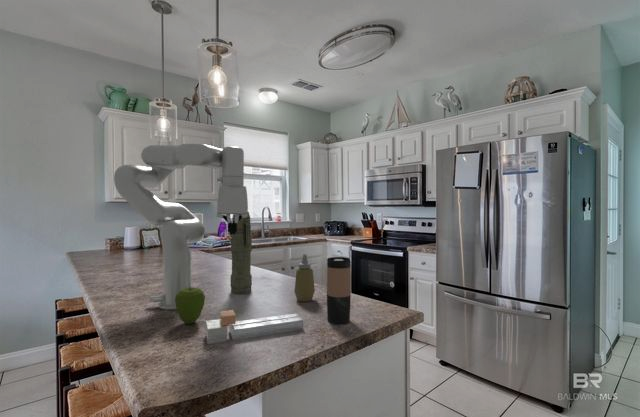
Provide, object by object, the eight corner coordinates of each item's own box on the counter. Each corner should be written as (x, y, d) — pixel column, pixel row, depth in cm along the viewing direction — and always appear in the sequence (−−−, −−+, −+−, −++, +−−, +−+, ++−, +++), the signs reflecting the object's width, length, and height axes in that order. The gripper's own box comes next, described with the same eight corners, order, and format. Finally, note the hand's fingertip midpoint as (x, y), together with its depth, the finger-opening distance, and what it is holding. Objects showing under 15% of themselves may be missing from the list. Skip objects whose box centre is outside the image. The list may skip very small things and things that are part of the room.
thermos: (241, 296, 130) (242, 210, 130) (224, 291, 138) (224, 210, 138) (258, 291, 137) (258, 210, 137) (240, 287, 145) (240, 210, 145)
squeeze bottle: (312, 303, 121) (312, 256, 121) (291, 302, 122) (292, 255, 122) (316, 297, 129) (316, 253, 129) (297, 296, 130) (297, 252, 130)
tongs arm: (230, 335, 91) (230, 325, 91) (229, 331, 93) (229, 322, 93) (299, 325, 98) (299, 316, 98) (296, 322, 101) (296, 313, 101)
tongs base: (207, 344, 85) (207, 329, 85) (206, 334, 91) (206, 320, 91) (303, 329, 95) (303, 316, 95) (295, 321, 101) (295, 309, 101)
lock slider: (222, 325, 87) (222, 316, 87) (220, 319, 91) (220, 311, 91) (235, 323, 88) (235, 315, 88) (233, 318, 93) (233, 310, 93)
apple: (175, 330, 94) (175, 291, 94) (174, 321, 102) (174, 285, 102) (206, 325, 98) (206, 287, 98) (202, 316, 106) (203, 282, 106)
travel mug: (352, 318, 105) (353, 257, 105) (347, 326, 98) (347, 261, 98) (330, 315, 107) (330, 256, 107) (323, 323, 100) (323, 259, 100)
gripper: (211, 180, 106) (210, 235, 106) (255, 182, 112) (255, 234, 112) (209, 182, 113) (209, 233, 113) (251, 183, 119) (251, 232, 119)
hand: (232, 234), depth 112 cm, fingers closed
